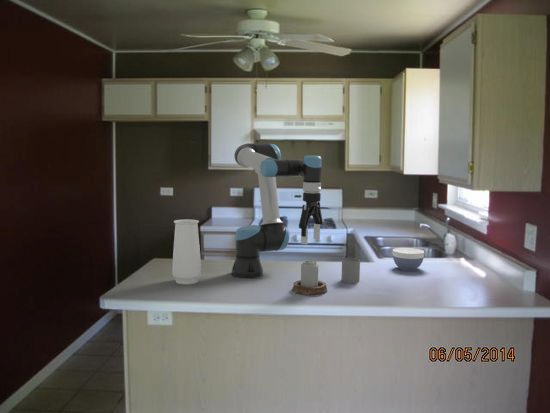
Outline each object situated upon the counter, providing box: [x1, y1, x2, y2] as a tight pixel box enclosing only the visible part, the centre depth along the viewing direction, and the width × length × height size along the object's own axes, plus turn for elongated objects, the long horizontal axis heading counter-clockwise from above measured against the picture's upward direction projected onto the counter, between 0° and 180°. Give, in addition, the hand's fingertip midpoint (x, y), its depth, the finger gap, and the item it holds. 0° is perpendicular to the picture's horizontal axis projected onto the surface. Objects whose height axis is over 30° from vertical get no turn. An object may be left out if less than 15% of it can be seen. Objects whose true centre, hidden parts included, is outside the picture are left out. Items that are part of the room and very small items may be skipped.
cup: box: [341, 257, 361, 284], centre depth 246 cm, size 8×8×10 cm
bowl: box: [392, 247, 425, 272], centre depth 272 cm, size 16×16×10 cm
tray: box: [292, 279, 328, 297], centre depth 229 cm, size 15×15×3 cm
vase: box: [172, 218, 202, 285], centre depth 239 cm, size 13×13×28 cm
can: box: [300, 259, 319, 287], centre depth 228 cm, size 8×8×12 cm
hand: (310, 241), depth 226 cm, fingers open, 13 cm apart
